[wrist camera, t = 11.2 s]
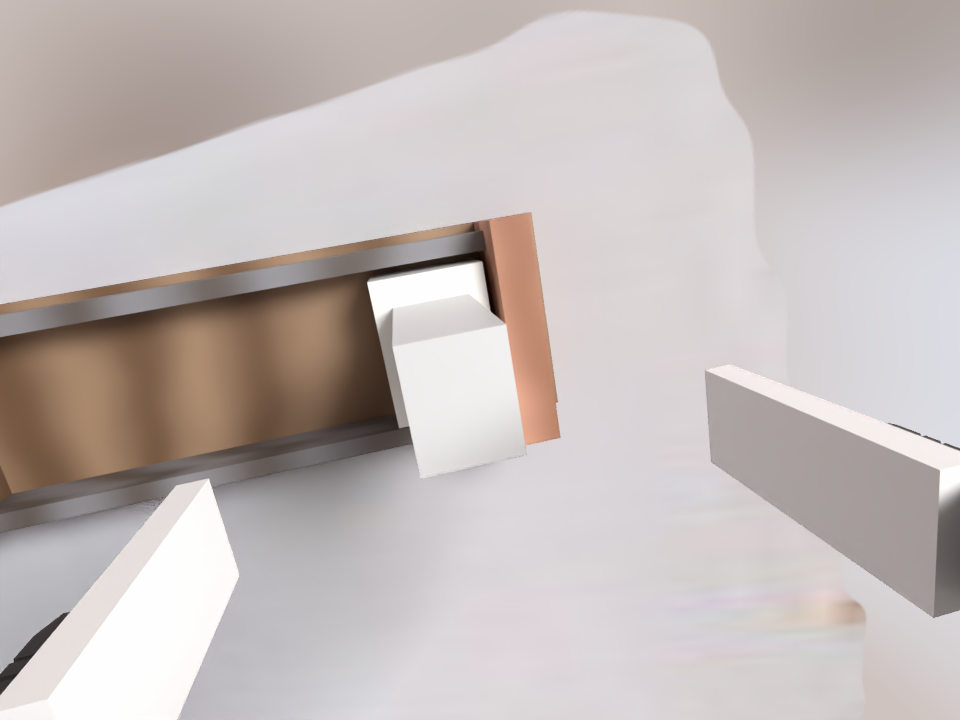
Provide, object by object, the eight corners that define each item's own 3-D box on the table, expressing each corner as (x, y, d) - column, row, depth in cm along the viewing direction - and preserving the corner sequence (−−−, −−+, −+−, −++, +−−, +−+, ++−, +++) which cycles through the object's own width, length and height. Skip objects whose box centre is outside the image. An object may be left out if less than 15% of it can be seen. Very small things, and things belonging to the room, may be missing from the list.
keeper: (398, 405, 34) (401, 521, 20) (370, 276, 32) (353, 309, 18) (493, 386, 34) (558, 485, 21) (471, 258, 32) (527, 276, 19)
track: (-24, 517, 33) (-131, 590, 26) (-110, 323, 30) (-256, 350, 23) (551, 395, 37) (586, 431, 30) (525, 213, 34) (558, 208, 27)
